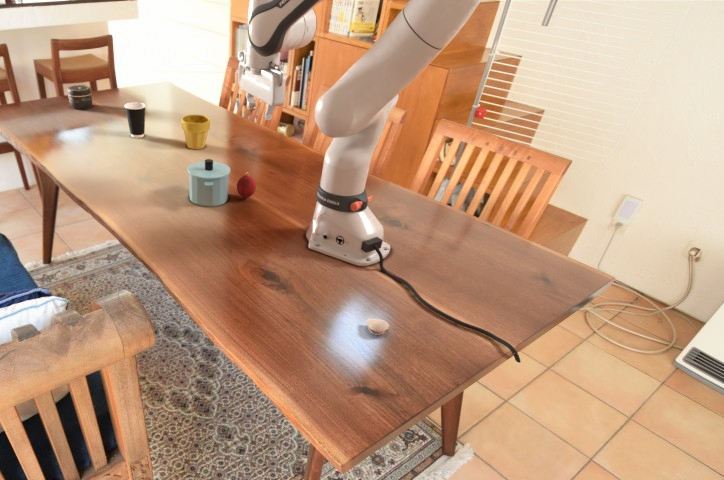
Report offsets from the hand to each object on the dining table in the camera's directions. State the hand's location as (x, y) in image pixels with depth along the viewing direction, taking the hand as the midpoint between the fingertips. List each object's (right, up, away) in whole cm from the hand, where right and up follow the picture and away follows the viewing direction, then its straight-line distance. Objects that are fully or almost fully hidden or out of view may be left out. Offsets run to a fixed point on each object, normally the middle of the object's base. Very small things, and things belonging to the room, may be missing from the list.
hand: (259, 114), depth 135 cm
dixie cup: (-43, +16, +53) cm, 71 cm away
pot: (-14, -19, +13) cm, 27 cm away
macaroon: (+22, -61, -33) cm, 72 cm away
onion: (-3, -20, +14) cm, 24 cm away
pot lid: (-14, -13, +8) cm, 21 cm away
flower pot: (-20, +10, +46) cm, 51 cm away
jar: (-73, +40, +80) cm, 115 cm away
